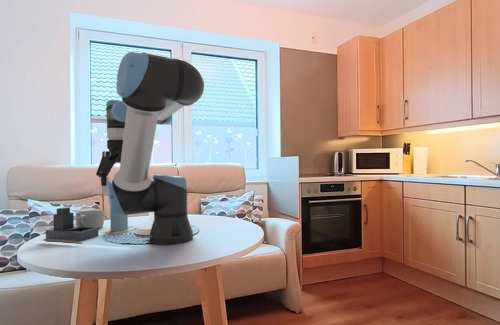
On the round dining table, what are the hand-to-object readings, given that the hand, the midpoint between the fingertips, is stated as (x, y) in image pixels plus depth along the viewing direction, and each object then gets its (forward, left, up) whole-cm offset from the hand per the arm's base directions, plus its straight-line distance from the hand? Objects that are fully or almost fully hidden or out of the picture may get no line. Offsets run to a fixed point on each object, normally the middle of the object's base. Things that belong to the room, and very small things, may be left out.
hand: (118, 192), depth 124 cm
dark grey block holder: (+9, +14, -16) cm, 23 cm away
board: (0, 0, -16) cm, 16 cm away
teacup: (+14, +1, -16) cm, 22 cm away
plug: (0, 0, -15) cm, 15 cm away
